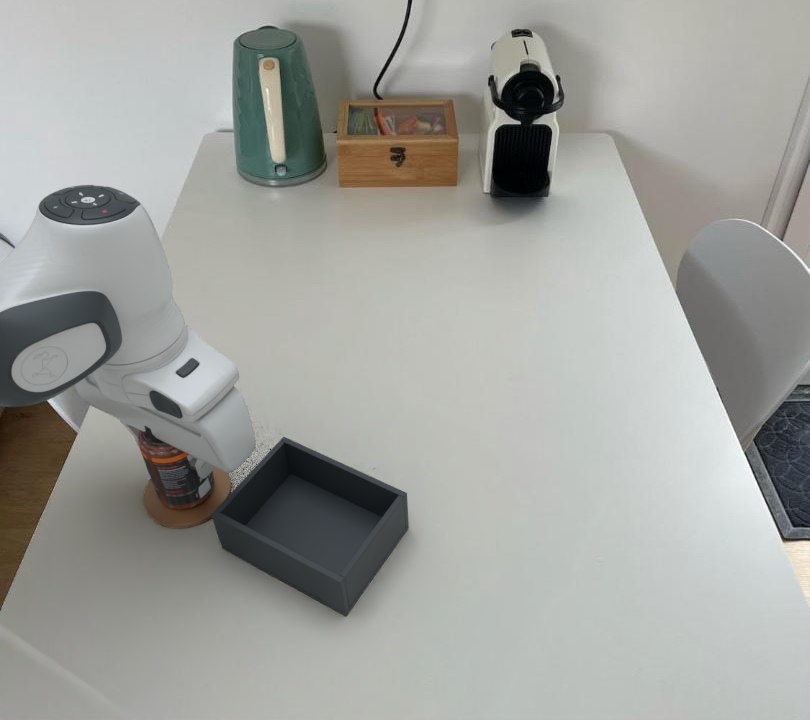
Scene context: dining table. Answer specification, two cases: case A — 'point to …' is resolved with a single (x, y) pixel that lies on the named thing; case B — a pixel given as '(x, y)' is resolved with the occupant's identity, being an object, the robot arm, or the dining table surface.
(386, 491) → the bin
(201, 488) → the supplement bottle
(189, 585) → the dining table surface
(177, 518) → the coaster
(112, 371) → the robot arm
